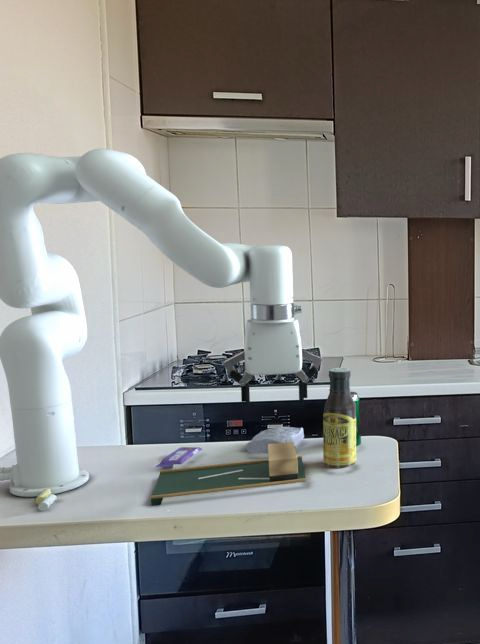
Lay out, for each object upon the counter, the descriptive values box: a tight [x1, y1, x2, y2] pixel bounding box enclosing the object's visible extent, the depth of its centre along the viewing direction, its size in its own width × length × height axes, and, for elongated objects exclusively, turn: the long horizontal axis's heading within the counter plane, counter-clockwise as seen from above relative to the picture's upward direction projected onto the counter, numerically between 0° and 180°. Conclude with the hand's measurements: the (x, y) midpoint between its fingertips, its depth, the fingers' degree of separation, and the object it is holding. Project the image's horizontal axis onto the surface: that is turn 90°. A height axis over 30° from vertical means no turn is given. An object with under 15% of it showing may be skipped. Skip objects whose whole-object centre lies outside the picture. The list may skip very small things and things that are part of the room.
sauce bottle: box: [322, 367, 357, 469], centre depth 144 cm, size 6×6×20 cm
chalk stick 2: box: [37, 494, 57, 512], centre depth 128 cm, size 2×4×2 cm
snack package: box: [155, 446, 203, 469], centre depth 151 cm, size 12×2×5 cm
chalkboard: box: [149, 455, 308, 506], centre depth 139 cm, size 26×14×2 cm, turn 108°
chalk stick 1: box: [34, 489, 51, 505], centre depth 131 cm, size 2×4×2 cm
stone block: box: [245, 426, 305, 454], centre depth 158 cm, size 12×5×10 cm
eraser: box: [267, 442, 298, 482], centre depth 141 cm, size 5×10×4 cm, turn 18°
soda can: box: [350, 391, 362, 447], centre depth 157 cm, size 5×5×12 cm
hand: (274, 403), depth 140 cm, fingers open, 9 cm apart
